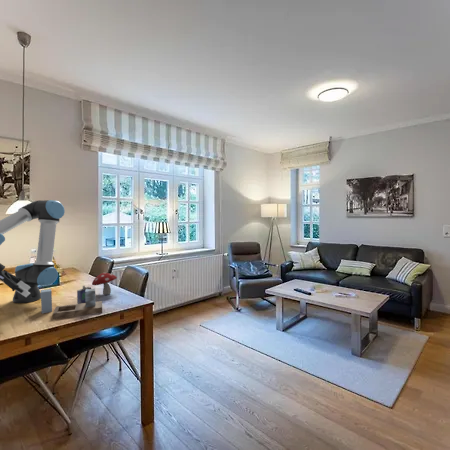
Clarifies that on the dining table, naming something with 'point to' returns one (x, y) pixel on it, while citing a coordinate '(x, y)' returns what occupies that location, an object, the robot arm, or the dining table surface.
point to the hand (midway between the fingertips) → (28, 292)
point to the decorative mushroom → (104, 281)
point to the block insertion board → (80, 307)
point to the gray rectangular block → (46, 301)
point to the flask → (81, 295)
